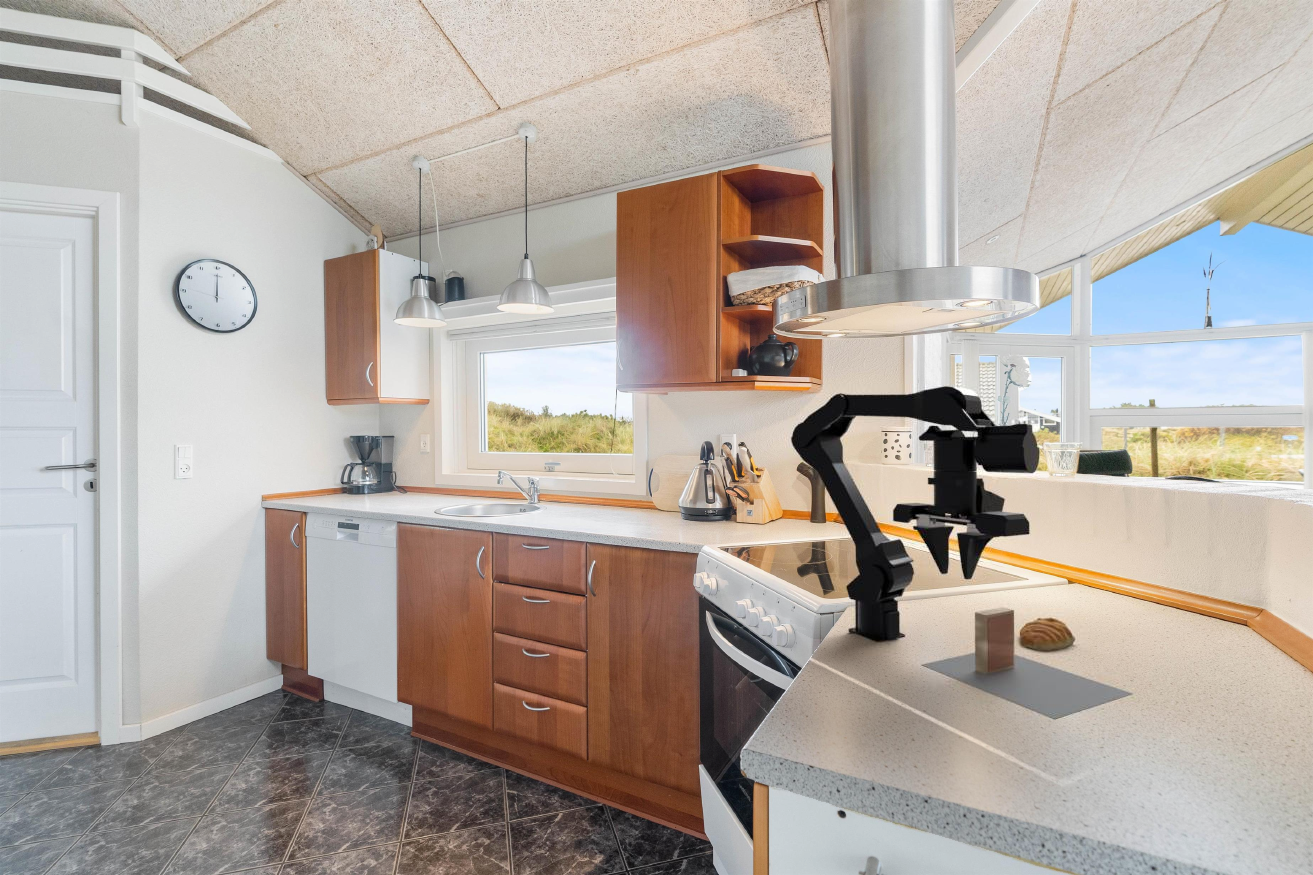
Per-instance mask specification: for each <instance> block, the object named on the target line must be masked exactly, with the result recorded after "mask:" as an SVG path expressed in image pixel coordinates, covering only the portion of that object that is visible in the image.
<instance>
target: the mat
mask: <svg viewBox="0 0 1313 875" xmlns="http://www.w3.org/2000/svg"><path fill="white" fill-rule="evenodd" d="M921 666H922V667H925V668H927V669H930V670H932V671H935V672H937V673H940V674H942V675H945V676H946V677H950V678H952V679H955V680H956V681H959V682H962V683H964V684H966V685H969V686H972V687H973V688H976V689H979V690H981V691H984V692H986V693H989V694H991V695H994V696H996V697H999V698H1000V699H1003V700H1006V701H1009V702H1011V703H1014V704H1016V705H1018V706H1021V707H1023V708H1025V709H1029V710H1031V711H1032V712H1036V713H1038V714H1041V715H1043V716H1045V717H1048V718H1050V719H1053V720H1057V719H1061V718H1063V717H1067V716H1069V715H1072V714H1075V713H1079V712H1081V711H1085V710H1088V709H1091V708H1094V707H1098V706H1100V705H1103V704H1106V703H1109V702H1112V701H1115V700H1119V699H1121V698H1124V697H1128V696H1131V695H1133V692H1131V691H1130V692H1129V691H1126V690H1124V689H1121V688H1117V687H1114V686H1111V685H1108V684H1105V683H1103V682H1100V681H1097V680H1093V679H1091V678H1090V679H1089V678H1086V677H1083V676H1081V675H1077V674H1075V673H1071V672H1068V671H1065V670H1063V669H1060V668H1057V667H1054V666H1051V665H1047V664H1045V663H1042V662H1038V661H1035V660H1032V659H1029V658H1026V657H1024V656H1020V655H1017V654H1015V668H1011V669H1007V670H1003V671H999V672H995V673H991V674H987V675H986V674H983V673H980V672H978V671H975V652H971V653H967V654H963V655H957V656H953V657H949V658H945V659H940V660H935V661H931V662H927V663H921Z"/></svg>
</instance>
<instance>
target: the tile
mask: <svg viewBox="0 0 1313 875" xmlns="http://www.w3.org/2000/svg"><path fill="white" fill-rule="evenodd" d="M974 653H975V671H978V672H980V673H983V674H986V675H987V674H991V673H995V672H999V671H1003V670H1007V669H1011V668H1015V655H1016V654H1015V610H1014V609H1012V608H1008V607H1004V606H1002V607H997V608H991V609H985V610H979V611H975V612H974Z"/></svg>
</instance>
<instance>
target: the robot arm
mask: <svg viewBox="0 0 1313 875" xmlns="http://www.w3.org/2000/svg"><path fill="white" fill-rule="evenodd" d="M856 417H878V418H879V417H881V418H882V417H883V418H910V419H914V420H917V421H921V422H926V423H931V424H935V425H929V426H928V428H927V429H926V431H924V432H922V434H921V435H919V436H918V440H919V441H920V442H921V441H922V442H925V441H926V442H933V445H932V446H933V477H927V485H931V486H933V504H932V503H923V502H922V503H920V502H909V503H908V502H907V503H906V502H905V503H897V504H896V505H895V507H894V508H893V509H892V521H893V522H896V523H903V524H909V523H911V522H912V521H914V520H916V525H913V526H912V529H913V530H914V531H917V532H918V534H919V537H920V538H921V539H922V541H923V542H924V544H925V545H926V547H927V550H928V551H929V553H930V555H931V557H932V559H933V561H934V563H935V565H936V566H937V569H938V570H939V572H940V574H941V575H947V574H948V573H949V565H950V555H949V554H950V552H949V550H950V549H949V548H950V543H949V542H950V536H951V534H952V532H953V531H954V528H955V526H954V525H957V526H958V525H959V526H966V532H965V531H964V532H957V533H956V539H957V544H958V552H959V558H960V565H961V571H962V575H963V578H964V579H965V580H971V579H972V578H973V576H974V574H975V571H976V568H977V566H978V563H979V561H980V558H981V556H982V554H983V552H984V550H985V548H986V547H987V544H988V543H990V541H992V540H993V539H994V538H1000V537H1004V538H1005V537H1017V536H1025V535H1030V534H1031V533H1030V521H1029V520H1028V518H1027V517H1026V515H1025V514H1024V513H1019V512H1008V511H1003V510H1004V505H1005V501H1006V499H1005V498H1004V497H1002V496H1000V495H999V494H997V493H995V492H992V491H990V490H987V489H985V482H984V480H983V478H982V477H978V476H977V474H978V472H977V470H978V466H982V468H983V470H984V471H985V472H986V473H1001V474H1002V473H1008V474H1034V473H1035V472H1036V471H1037V469H1038V467H1039V461H1040V453H1041V452H1040V447H1039V446H1038V442H1037V438H1036V435H1035V433H1034V432H1033V425H1032V424H1031V423H1015V424H1011V425H997V424H996V423H995V422H994V420H992V418H991V417H990V416H989V415H988V414H987V412H986V411H985V410H984V409H983V405H982V400H981V398H980V396H979V395H978V394H977V393H976V392H975V391H974V390H972V389H968V388H962V387H961V388H960V387H956V386H955V387H954V386H947V385H946V386H945V385H944V386H940V387H938V386H937V387H933V388H928V389H923V390H920V391H917V392H913V393H907V394H904V393H903V394H849V393H842V392H841V393H840V392H839V393H836V394H835V395H833V396H831V398H830V399H829V400H828V401H827V402H826V403H824V405H822V406H821V407H819V408H817V409H816V410H815V411H814V412H812V413H810V414H809V415H808V416H807V417H806V418H805V419H804V420H803V422H800V423H798V424H797V425H796V426H795V427H794V429H793V431H792V435H791V437H790V440H791V441H790V442H791V445H792V447H793V449H794V450H795V451H796V453H797V454H798V455H799V457H800V458H801V459H802V461H803V462H805V463H806V464H807V465H808V466H810V468H812V469H813V470H814V471H816V473H817V474H818V476H819V477H820V480H821V482H822V484H823V485H824V488H825V489H826V492H827V493H828V495H829V498H830V499H831V501H832V503H833V505H834V507H835V509H836V510H837V513H838V514H839V515H838V516H839V517H840V518H841V520H842V522H843V524H844V526H845V528H846V530H847V532H848V534H849V535H850V538H851V539H852V542H853V543H854V546H855V547H854V548H855V549H854V550H855V565H856V568H857V570H858V573H859V574H858V575H857V576H856V577H854V578H853V580H851V581H850V582H849V583H848V584H847V585H846V586H845V587H846V588H845V589H846V591H847V594H848V595H847V596H848V598H849V600H852V601H855V603H854V604H855V605H854V606H855V610H854V612H855V616H854V617H855V619H854V620H855V621H854V622H855V625H854V626H855V627H851V628H849V627H848V630H847V631H848V633H850V634H855V635H858V636H859V637H860V636H861V637H863V638H865V639H868V640H870V641H872V642H876V643H881V642H885V641H890V640H895V639H901V638H906V634H905V633H901V631H900V630H901V628H900V620H901V619H900V616H901V615H900V614H901V613H900V611H899V603H898V600H896V598H899V597H900V598H901V597H903V595H904V592H905V590H906V588H907V587H908V586H910V584H911V583H912V581H913V578H914V574H915V571H914V567H913V564H912V563H914V559H913V558H912V557H911V556H910V555H909V554H908V552H907V550H906V548H905V544H904V543H903V541H902V540H901V539H900V538H897V539H893V540H891V539H890V538H889V537H887V536H886V535H885V534H884V533H883V531H882V530H881V529H880V526H879V525H878V523H877V521H876V519H875V517H874V515H873V514H872V512H871V510H870V508H869V506H868V504H867V503H866V501H865V499H864V497H863V495H862V493H861V492H860V490H859V488H858V486H857V484H856V483H855V481H854V479H853V477H852V475H851V474H850V471H849V470H848V468H847V466H846V464H845V462H844V451H843V450H844V448H843V443H842V441H841V438H842V437H843V436H845V434H846V433H847V432H848V430H849V428H850V426H851V424H852V422H853V420H854V419H855V418H856ZM939 425H940V426H951V427H953V428H955V429H941V428H940V427H939ZM964 432H971V433H972V432H973V433H977V436H966V435H965V433H964ZM977 465H978V466H977ZM946 524H947V525H946ZM948 524H949V525H948ZM950 524H951V525H950Z"/></svg>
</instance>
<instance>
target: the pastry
mask: <svg viewBox="0 0 1313 875" xmlns="http://www.w3.org/2000/svg"><path fill="white" fill-rule="evenodd" d="M1075 641H1076V637H1075V636H1074V635H1073V634H1072V631H1071V630H1070V629H1069V628H1068V626H1067V624H1066V623H1064V622H1063V621H1061V620H1059V619H1057V618H1053V617H1044V618H1041V617H1038V618H1036V619H1035V620H1033V621H1028V622H1026V623H1025V625H1024V626H1022V628H1021V629H1020V630H1019V642H1020V644H1021V645H1022V646H1023V647H1025V648H1030V649H1034V650H1038V651H1053V650H1061V649H1066V648H1067V647H1068V646H1072V645H1074V643H1075Z"/></svg>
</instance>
